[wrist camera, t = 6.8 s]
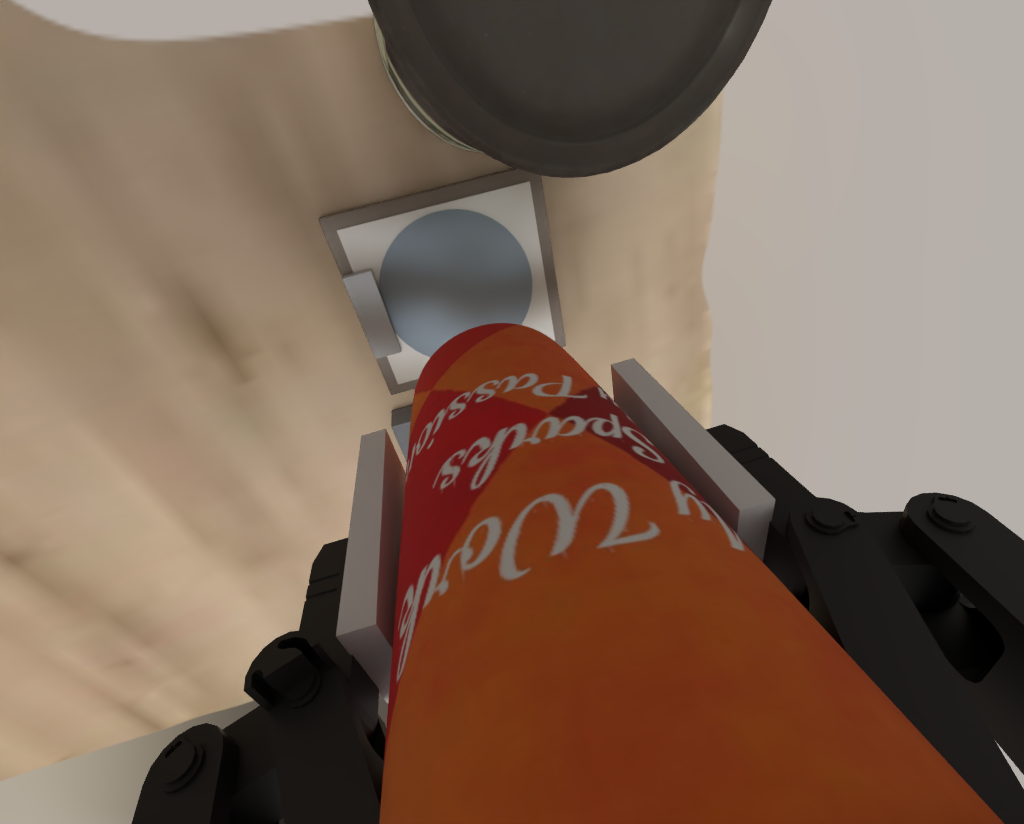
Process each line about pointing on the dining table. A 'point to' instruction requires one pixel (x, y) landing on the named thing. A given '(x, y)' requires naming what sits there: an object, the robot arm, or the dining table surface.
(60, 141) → the dining table surface
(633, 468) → the coffee cup
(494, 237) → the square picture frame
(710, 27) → the coffee can
